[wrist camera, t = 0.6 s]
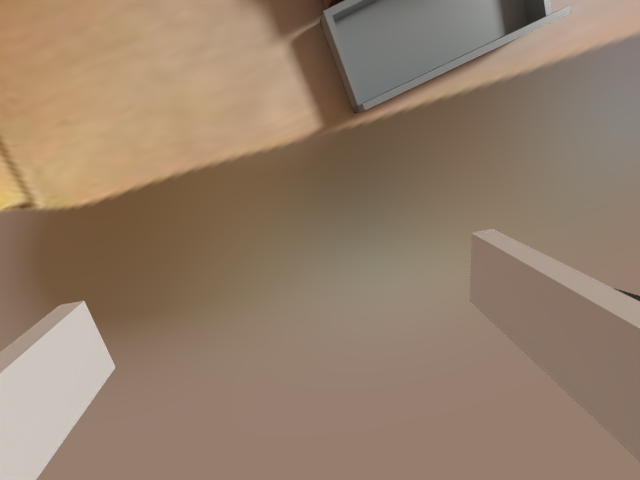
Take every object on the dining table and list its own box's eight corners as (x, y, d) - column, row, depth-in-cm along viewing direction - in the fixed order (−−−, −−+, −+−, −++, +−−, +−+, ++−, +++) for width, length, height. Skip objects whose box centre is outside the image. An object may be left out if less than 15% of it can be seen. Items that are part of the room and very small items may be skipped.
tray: (320, 21, 31) (325, 2, 26) (513, -74, 30) (555, -112, 25) (354, 113, 34) (365, 110, 29) (530, 29, 33) (571, 12, 28)
